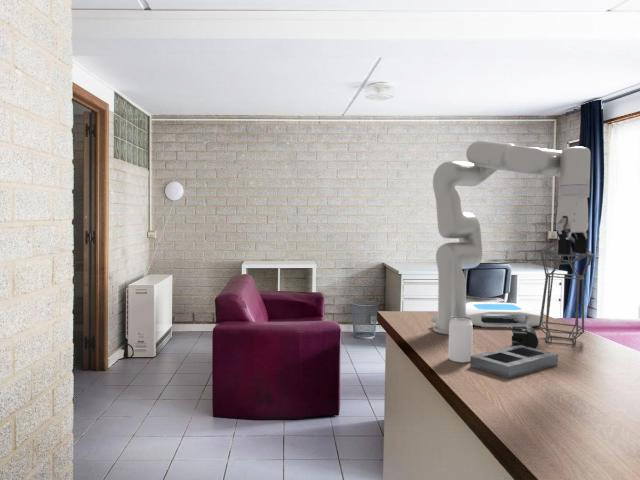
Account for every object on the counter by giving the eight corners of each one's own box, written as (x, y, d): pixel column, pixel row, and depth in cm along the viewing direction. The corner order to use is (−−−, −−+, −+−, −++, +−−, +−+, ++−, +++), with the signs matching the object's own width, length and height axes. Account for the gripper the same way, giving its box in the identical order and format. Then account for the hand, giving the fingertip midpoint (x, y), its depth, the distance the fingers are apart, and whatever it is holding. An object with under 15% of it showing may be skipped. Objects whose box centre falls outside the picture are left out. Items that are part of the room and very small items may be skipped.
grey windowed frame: (470, 366, 138) (470, 355, 138) (519, 354, 151) (519, 344, 151) (508, 378, 129) (508, 366, 128) (557, 364, 141) (558, 353, 141)
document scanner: (543, 328, 188) (544, 312, 187) (466, 327, 189) (467, 311, 188) (523, 317, 209) (523, 302, 208) (454, 316, 210) (454, 301, 209)
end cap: (538, 354, 151) (538, 332, 151) (512, 352, 154) (513, 330, 153) (535, 346, 161) (536, 325, 161) (511, 344, 163) (512, 323, 163)
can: (445, 357, 148) (446, 316, 148) (466, 356, 149) (467, 315, 148) (452, 363, 142) (453, 320, 141) (475, 363, 142) (476, 320, 142)
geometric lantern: (536, 334, 178) (541, 234, 177) (586, 340, 172) (592, 236, 170) (534, 343, 164) (540, 234, 162) (589, 350, 157) (596, 237, 156)
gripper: (574, 193, 150) (572, 251, 151) (545, 191, 139) (544, 254, 140) (601, 192, 145) (599, 253, 145) (573, 190, 134) (571, 255, 134)
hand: (572, 253), depth 143 cm, fingers open, 9 cm apart
